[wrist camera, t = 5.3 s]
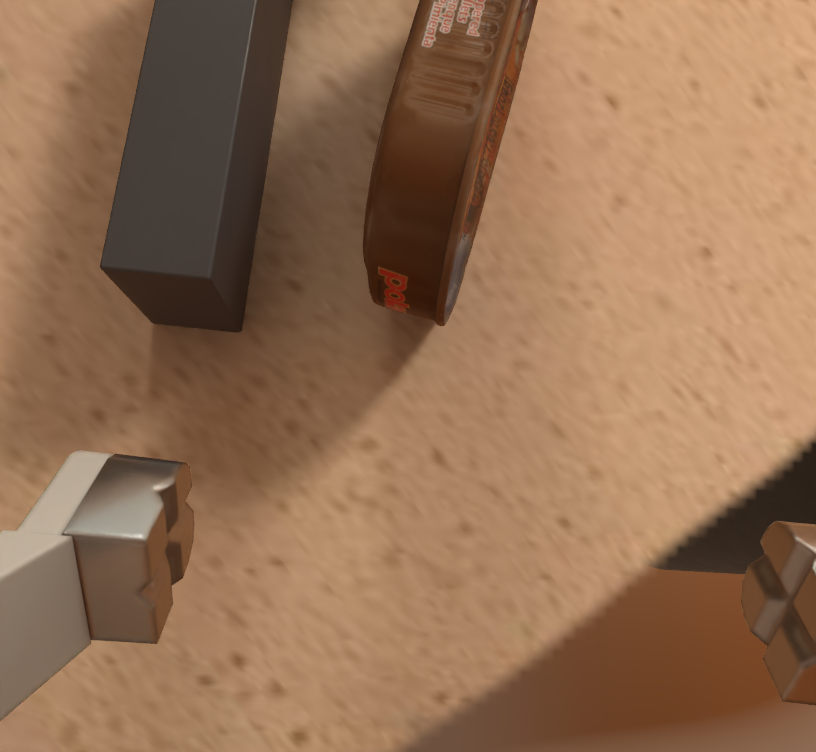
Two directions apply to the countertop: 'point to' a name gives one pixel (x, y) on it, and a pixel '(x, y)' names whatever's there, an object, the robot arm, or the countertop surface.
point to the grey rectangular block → (197, 160)
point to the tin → (440, 149)
